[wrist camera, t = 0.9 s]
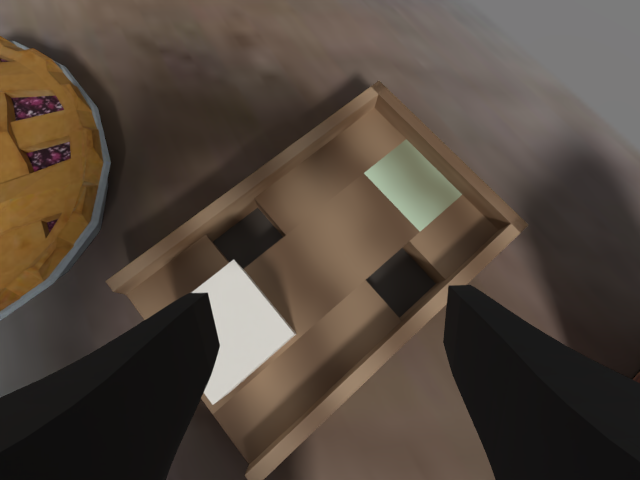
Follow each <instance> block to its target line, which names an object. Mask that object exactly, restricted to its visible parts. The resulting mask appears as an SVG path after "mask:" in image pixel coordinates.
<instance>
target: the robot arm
mask: <svg viewBox="0 0 640 480" xmlns="http://www.w3.org/2000/svg"><path fill="white" fill-rule="evenodd" d="M443 342H444V346H445V350H446V354H447V357H448V361H449V364H450V368H451V371H452V374H453V377H454V379H455V382H456V384H457V386H458V389H459V391H460V393H461V396H462V398H463V400H464V403H465V405H466V407H467V410H468V412H469V414H470V417H471V419H472V421H473V424H474V426H475V428H476V431H477V433H478V435H479V438H480V440H481V442H482V444H483V447H484V449H485V452H486V454H487V457H488V459H489V462H490V465H491V467H492V470H493V473H494V476H495V479H496V480H640V383H638V382H636V381H634V380H632V379H630V378H628V377H626V376H623V375H621V374H619V373H617V372H615V371H613V370H611V369H609V368H607V367H605V366H603V365H601V364H599V363H597V362H595V361H593V360H591V359H589V358H587V357H585V356H584V355H582V354H580V353H578V352H576V351H574V350H573V349H571V348H569V347H567V346H566V345H564V344H562V343H560V342H559V341H557V340H555V339H554V338H552V337H550V336H548V335H547V334H545V333H543V332H542V331H540V330H539V329H537V328H535V327H534V326H532V325H531V324H529V323H527V322H526V321H524V320H523V319H521V318H520V317H518V316H517V315H515V314H514V313H512V312H511V311H509V310H508V309H506V308H505V307H503V306H502V305H500V304H499V303H497V302H496V301H494V300H493V299H491V298H490V297H489V296H487V295H486V294H484V293H483V292H481V291H480V290H478V289H476V288H475V287H473V286H471V285H448V296H447V308H446V319H445V330H444V341H443ZM219 348H220V343H219V339H218V335H217V330H216V326H215V321H214V317H213V313H212V308H211V304H210V300H209V295H208V293H188V294H186V295H184V296H182V297H181V298H179V299H177V300H176V301H174V302H172V303H171V304H169V305H168V306H166V307H164V308H163V309H161V310H160V311H158V312H157V313H155V314H154V315H152V316H151V317H149V318H148V319H146V320H144V321H143V322H141V323H140V324H138V325H137V326H135V327H134V328H132V329H131V330H129V331H127V332H126V333H124V334H122V335H121V336H119V337H117V338H116V339H114V340H112V341H111V342H109V343H107V344H106V345H104V346H102V347H101V348H99V349H98V350H96V351H94V352H92V353H91V354H89V355H87V356H85V357H83V358H82V359H80V360H78V361H76V362H74V363H72V364H70V365H69V366H67V367H65V368H63V369H61V370H59V371H57V372H55V373H53V374H51V375H49V376H47V377H45V378H43V379H41V380H39V381H36V382H34V383H32V384H30V385H28V386H25V387H23V388H21V389H19V390H16V391H14V392H12V393H10V394H8V395H5V396H3V397H1V398H0V480H166V477H167V475H168V472H169V469H170V466H171V464H172V461H173V459H174V456H175V454H176V452H177V449H178V447H179V445H180V443H181V440H182V438H183V436H184V434H185V432H186V430H187V427H188V425H189V423H190V421H191V419H192V417H193V415H194V412H195V410H196V408H197V406H198V404H199V402H200V399H201V397H202V395H203V393H204V391H205V388H206V386H207V384H208V382H209V379H210V377H211V374H212V371H213V368H214V365H215V362H216V358H217V355H218V351H219Z"/></svg>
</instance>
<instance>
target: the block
mask: <svg viewBox="0 0 640 480" xmlns="http://www.w3.org/2000/svg"><path fill="white" fill-rule="evenodd" d="M192 293H208V295H209V300H210V304H211V308H212V313H213V317H214V321H215V326H216V330H217V335H218V339H219V343H220V348H219V351H218V355H217V358H216V362H215V365H214V368H213V371H212V374H211V377H210V379H209V382H208V384H207V386H206V388H205V391H204V394H205V395H206V397H207V398H208V399H209V401H210V402H211V403H212V405H214V404H215V403H216V402H218V401H219V400H220V399H222V398H223V397H224V396H226V395H227V394H228V393H230V392H231V391H232V390H233V389H234V388H235V387H237V386H238V385H239V384H240V383H241V382H242V381H243V380H245V379H246V378H247V377H248V376H249V375H250V374H251V373H253V372H254V371H255V370H256V369H257V368H258V367H259V366H261V365H262V364H263V363H264V362H265V361H266V360H267V359H269V358H270V357H271V356H272V355H273V354H274V353H275V352H277V351H278V350H279V349H280V348H281V347H282V346H283V345H284V344H286V343H287V342H288V341H289V340H290V339H291V338H292V337H294V336H295V335H296V333H295V331H294V330H293V329H292V328H291V327H290V325H289V324H288V323H287V322H286V320H285V319H284V318H283V317H282V315H281V314H280V313H279V312H278V311H277V309H276V308H275V307H274V306H273V304H272V303H271V302H270V301H269V299H268V298H267V297H266V296H265V295H264V293H263V292H262V291H261V290H260V288H259V287H258V286H257V285H256V284H255V282H254V281H253V280H252V279H251V277H250V276H249V275H248V274H247V272H246V271H245V270H244V269H243V268H242V267H241V266H240V265H239V264H238V263H237V262H236V261H235V260H232V261H231V262H230V263H229V264H227V265H226V266H225V267H223V268H222V269H221V270H220V271H218V272H217V273H216V274H215V275H213V276H212V277H211V278H209V279H208V280H207V281H206V282H204V283H203V284H202V285H201V286H199V287H198V288H197V289H195V290H194V291H193V292H192Z"/></svg>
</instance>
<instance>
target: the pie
mask: <svg viewBox="0 0 640 480" xmlns="http://www.w3.org/2000/svg"><path fill="white" fill-rule="evenodd" d="M110 165H111V161H110V157H109V153H108V148H107V144H106V140H105V136H104V132H103V128H102V123H101V119H100V115H99V111H98V108H97V106H96V105H95V104H94V103H93V101H92V100H91V99H90V97H89V96H88V95H87V94H86V92H85V91H84V90H83V88H82V87H81V86H80V85H79V83H78V82H77V81H76V80H75V78H74V77H73V76H72V74H71V73H70V72H69V71H68V69H67V68H66V67H65V66H63V65H61V64H59V63H58V62H56V61H54V60H52V59H51V58H49V57H47V56H46V55H44V54H42V53H41V52H39V51H37V50H36V49H34V48H31V49H30V48H28V47H26V46H24V45H22V44H20V43H18V42H15V41H8V40H6V39H4V38H3V37H1V36H0V321H1V320H2V319H3V318H5V317H6V316H8V315H9V314H11V313H12V312H13V311H15V310H16V309H18V308H19V307H21V306H22V305H23V304H25V303H26V302H28V301H29V300H31V299H32V298H33V297H35V296H36V295H38V294H39V293H41V292H42V291H43V290H45V289H46V288H48V287H49V286H51V285H52V284H53V283H54V282H55V281H56V280H57V279H58V278H60V277H61V276H63V275H64V274H65V273H67V272H68V271H69V270H70V269H71V267H72V266H73V265H74V264H75V262H76V261H77V260H78V258H79V257H80V256H81V255H82V253H83V252H84V251H85V249H86V248H87V247H88V246H89V244H90V243H91V242H92V240H93V239H94V238H95V237H96V235H97V234H98V233H99V231H100V230H101V225H102V219H103V213H104V207H105V201H106V195H107V189H108V181H107V179H108V174H109V169H110Z"/></svg>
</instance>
